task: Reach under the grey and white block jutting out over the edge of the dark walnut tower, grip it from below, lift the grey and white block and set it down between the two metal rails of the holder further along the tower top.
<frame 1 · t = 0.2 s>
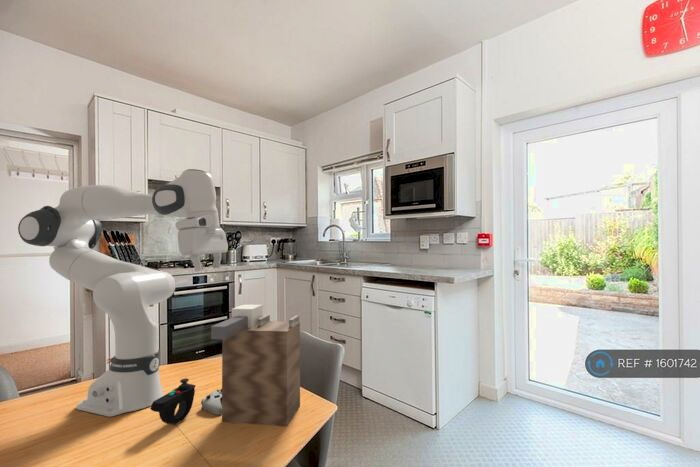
hand: (208, 269, 98), 40 cm above the table, tool pointing down, fingers open, 8 cm apart
gaming controller: (219, 407, 96), on the table
cable tower: (262, 413, 91), on the table
grey and white block: (247, 324, 94), point 24 cm above the table, touching cable tower
controller: (174, 424, 86), on the table
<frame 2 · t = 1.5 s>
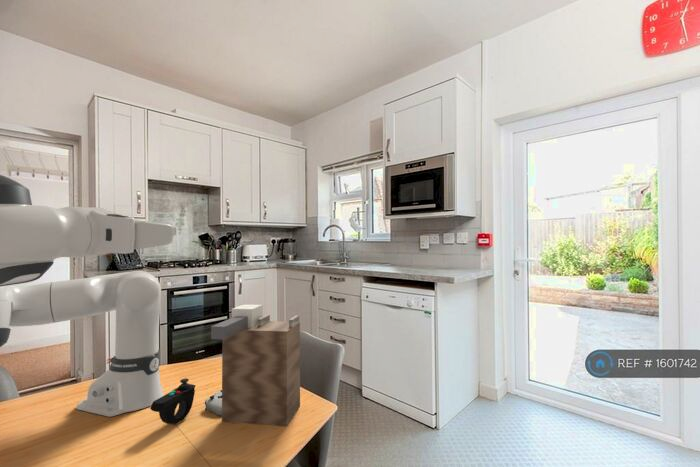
hand: (156, 229, 73), 50 cm above the table, tool horizontal, fingers open, 8 cm apart
gaming controller: (223, 407, 96), on the table
everything else where it was.
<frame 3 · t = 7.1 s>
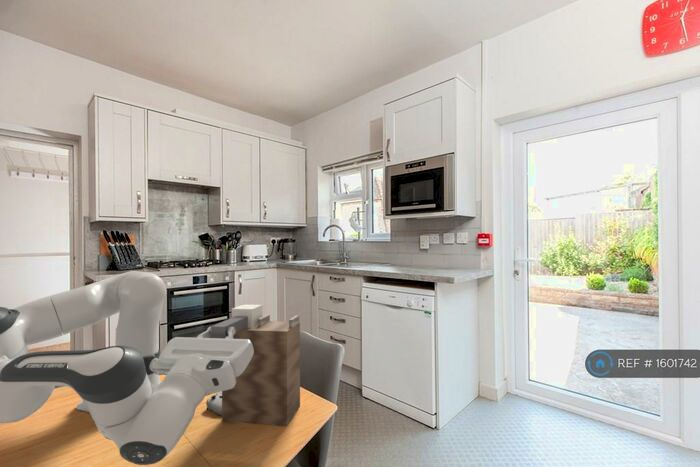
hand: (222, 328, 81), 26 cm above the table, tool pointing upward, fingers closed on grey and white block, 3 cm apart
grey and white block: (247, 324, 94), point 24 cm above the table, touching cable tower, gripper
everything else where it was.
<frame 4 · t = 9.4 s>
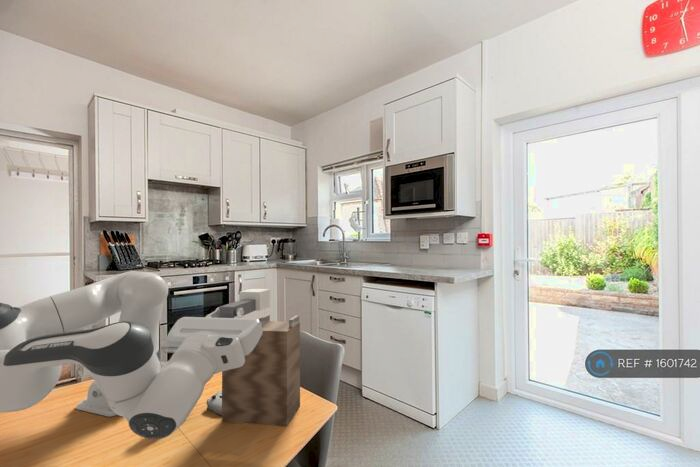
hand: (231, 309, 80), 31 cm above the table, tool pointing upward, fingers closed on grey and white block, 3 cm apart
grey and white block: (255, 308, 93), point 29 cm above the table, touching gripper
everything else where it was.
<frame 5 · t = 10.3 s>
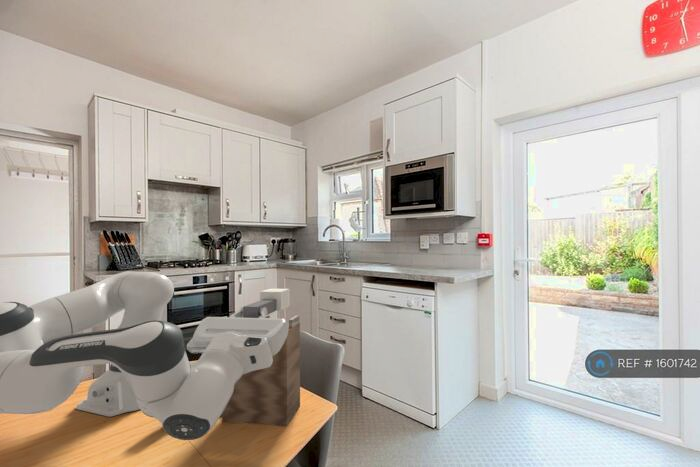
hand: (254, 309, 80), 31 cm above the table, tool pointing upward, fingers closed on grey and white block, 3 cm apart
grey and white block: (275, 308, 93), point 29 cm above the table, touching gripper
everything else where it was.
when the fingers open (27 cm above the table, at t = 11.6 s): grey and white block drops 1 cm, resting on cable tower.
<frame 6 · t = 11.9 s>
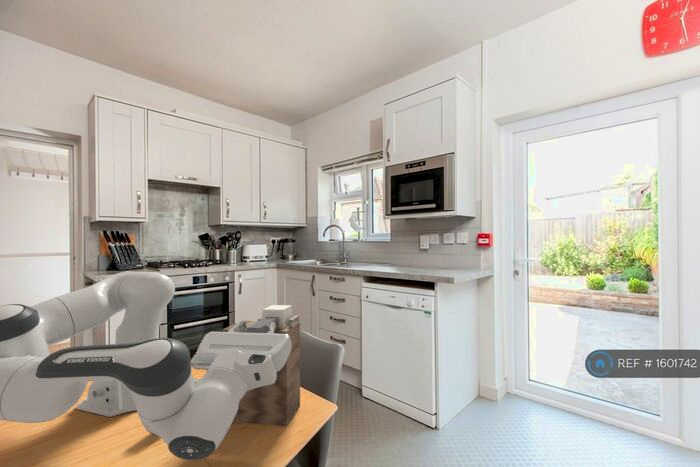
hand: (257, 323, 80), 27 cm above the table, tool pointing upward, fingers open, 6 cm apart
grey and white block: (277, 325, 92), point 24 cm above the table, touching cable tower
everything else where it was.
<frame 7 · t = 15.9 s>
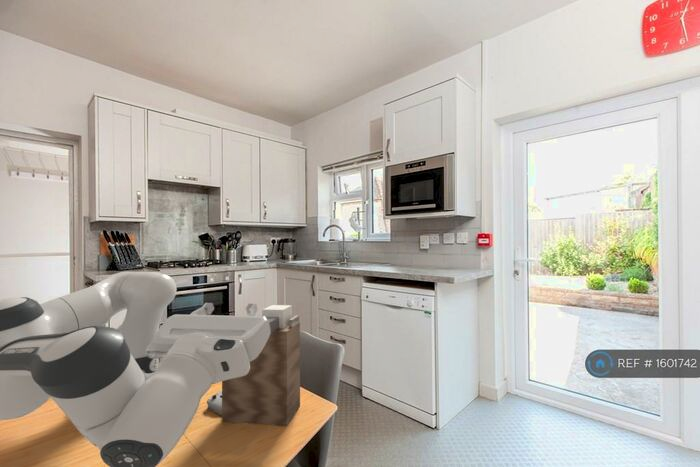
hand: (231, 305, 67), 34 cm above the table, tool pointing upward, fingers open, 8 cm apart
nothing on the table moved.
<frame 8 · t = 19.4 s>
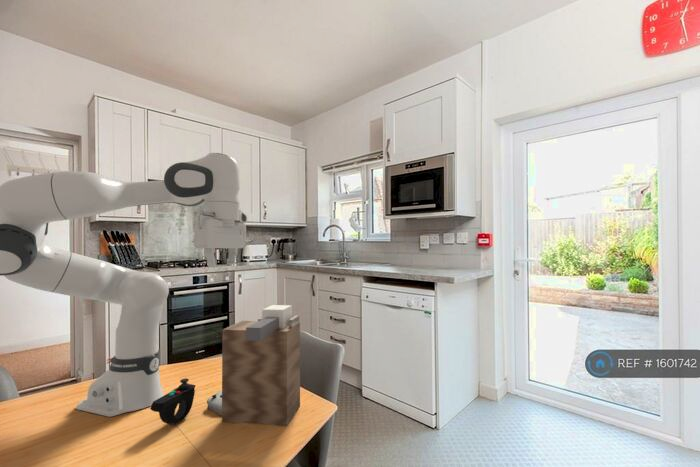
hand: (221, 265, 88), 41 cm above the table, tool pointing down, fingers open, 8 cm apart
nothing on the table moved.
at the end: grey and white block 0.1 cm from the target spot, point 24.0 cm above the table; the gripper is holding nothing; grey and white block tilted 0° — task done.
